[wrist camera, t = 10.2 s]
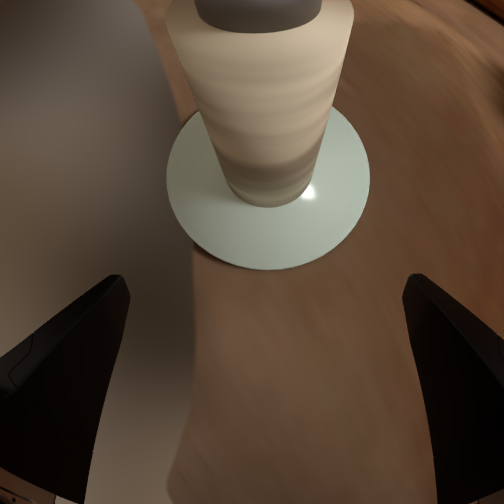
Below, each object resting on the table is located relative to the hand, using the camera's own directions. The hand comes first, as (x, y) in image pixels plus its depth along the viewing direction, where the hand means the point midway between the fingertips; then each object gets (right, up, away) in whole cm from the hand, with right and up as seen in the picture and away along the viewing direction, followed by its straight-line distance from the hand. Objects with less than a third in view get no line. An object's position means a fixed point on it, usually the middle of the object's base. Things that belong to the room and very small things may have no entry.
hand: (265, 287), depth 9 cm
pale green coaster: (+1, +6, +10) cm, 12 cm away
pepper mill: (+1, +6, +9) cm, 11 cm away
